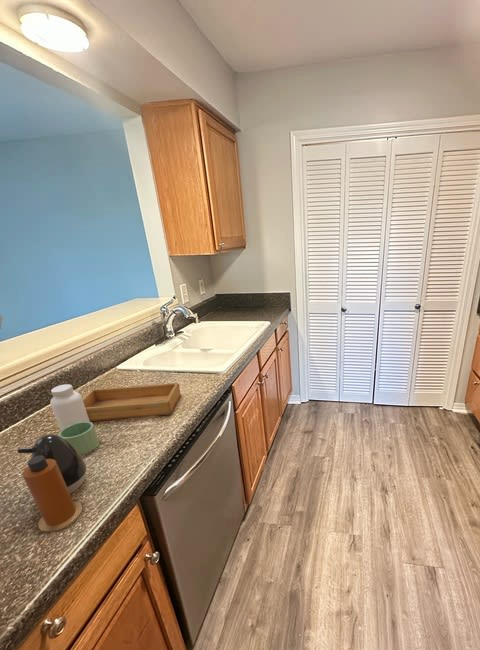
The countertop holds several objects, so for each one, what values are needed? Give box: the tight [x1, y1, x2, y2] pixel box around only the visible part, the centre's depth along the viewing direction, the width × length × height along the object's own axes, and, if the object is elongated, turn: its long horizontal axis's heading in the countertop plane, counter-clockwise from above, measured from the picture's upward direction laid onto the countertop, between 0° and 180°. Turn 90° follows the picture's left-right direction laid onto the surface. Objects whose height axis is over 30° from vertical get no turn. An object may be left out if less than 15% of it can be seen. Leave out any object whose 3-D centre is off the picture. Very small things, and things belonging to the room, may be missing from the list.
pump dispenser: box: [16, 433, 87, 494], centre depth 76 cm, size 10×10×15 cm
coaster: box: [37, 500, 83, 533], centre depth 71 cm, size 8×8×1 cm
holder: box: [57, 421, 100, 456], centre depth 93 cm, size 8×8×6 cm
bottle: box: [21, 455, 76, 526], centre depth 68 cm, size 6×6×15 cm
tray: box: [82, 382, 181, 422], centre depth 113 cm, size 31×15×6 cm, turn 97°
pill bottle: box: [49, 383, 91, 431], centre depth 100 cm, size 8×8×15 cm
